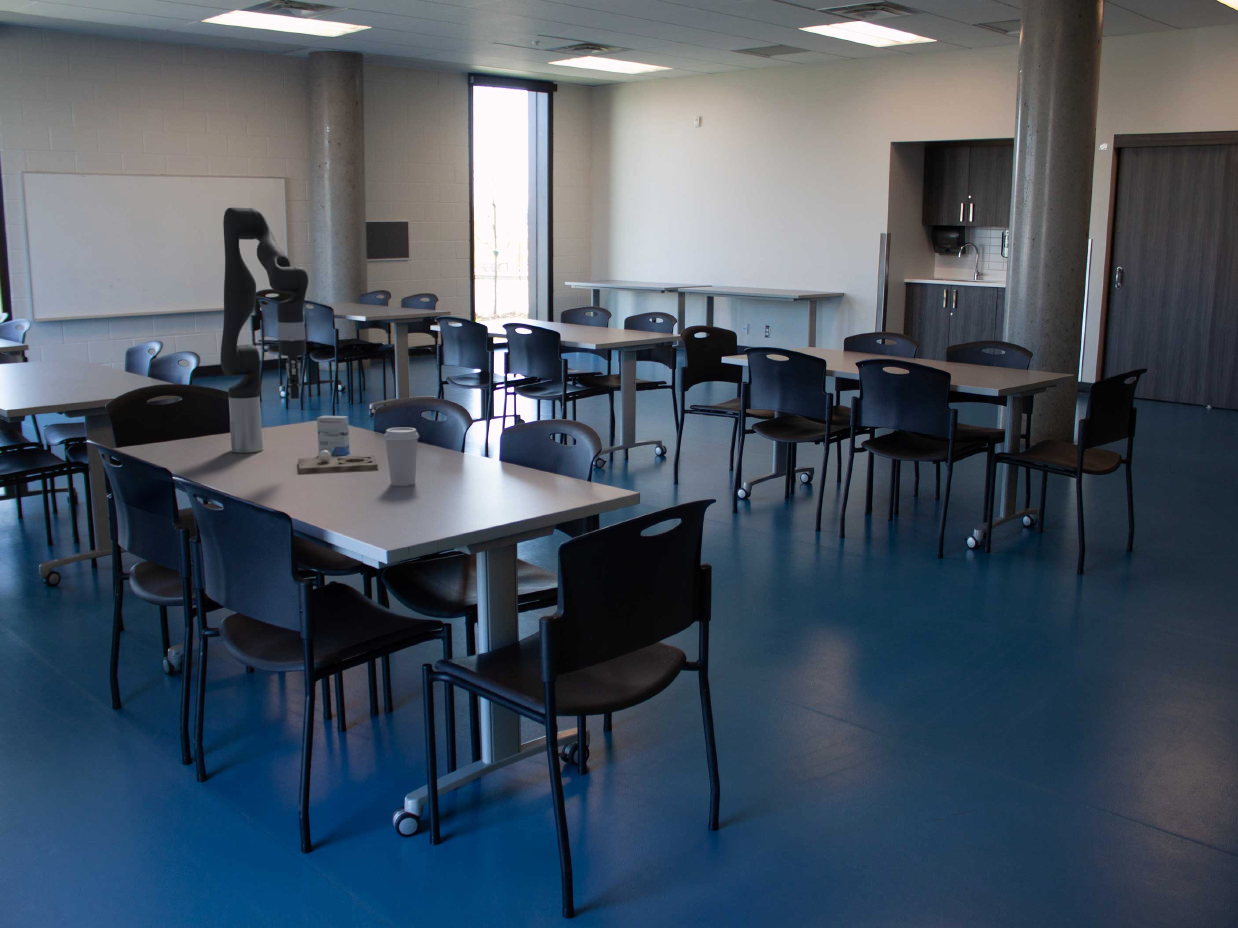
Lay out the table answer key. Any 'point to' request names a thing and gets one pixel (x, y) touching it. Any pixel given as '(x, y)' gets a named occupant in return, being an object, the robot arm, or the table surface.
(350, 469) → the wooden board
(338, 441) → the ink box
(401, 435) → the coffee cup
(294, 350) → the robot arm
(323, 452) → the ball
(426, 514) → the table surface
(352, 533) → the table surface
